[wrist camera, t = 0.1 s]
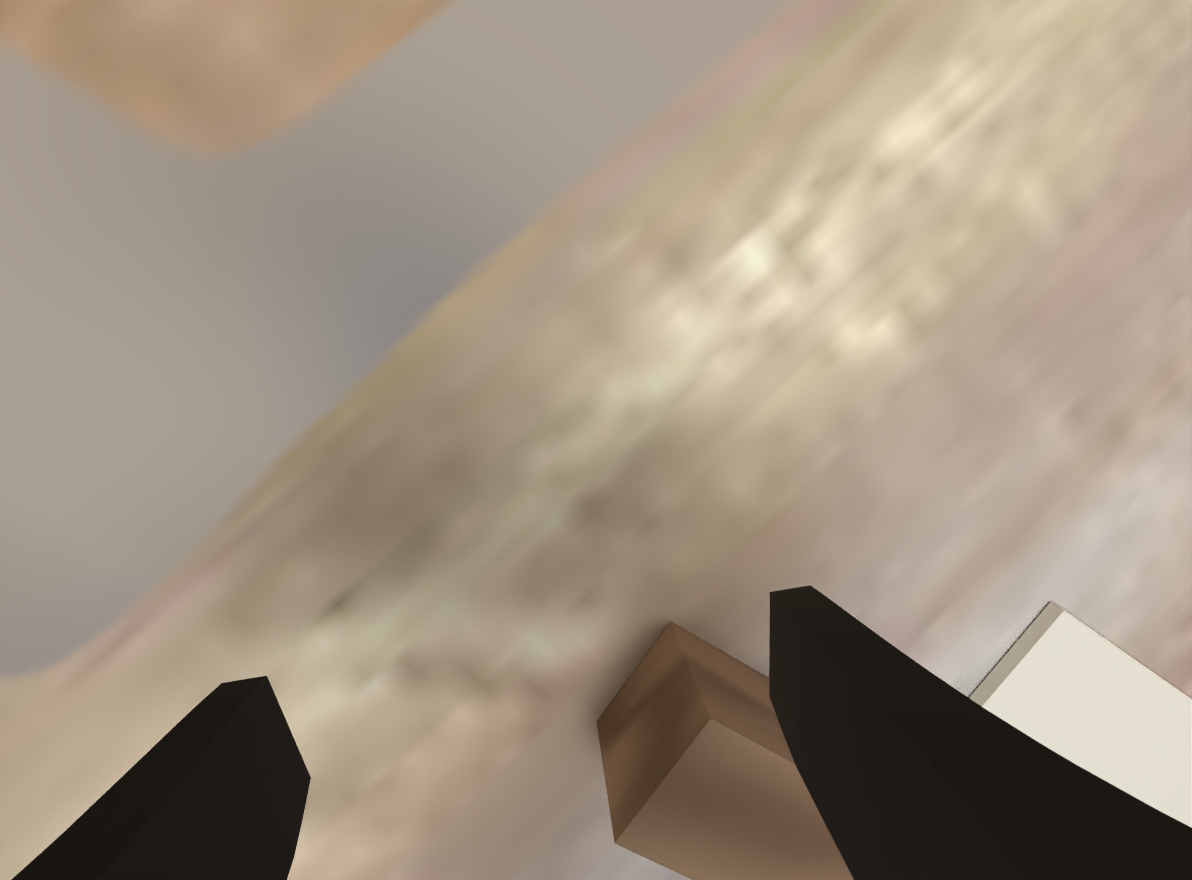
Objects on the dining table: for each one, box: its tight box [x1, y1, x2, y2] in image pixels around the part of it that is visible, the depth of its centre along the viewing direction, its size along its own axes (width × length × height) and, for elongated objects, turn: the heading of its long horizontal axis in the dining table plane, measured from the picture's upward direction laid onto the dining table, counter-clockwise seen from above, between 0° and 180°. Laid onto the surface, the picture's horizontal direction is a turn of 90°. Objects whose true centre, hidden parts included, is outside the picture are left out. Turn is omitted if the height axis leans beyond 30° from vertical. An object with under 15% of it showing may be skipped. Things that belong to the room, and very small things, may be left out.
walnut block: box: [597, 622, 854, 880], centre depth 20 cm, size 4×7×5 cm, turn 56°
